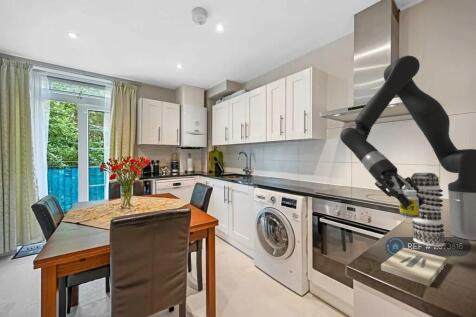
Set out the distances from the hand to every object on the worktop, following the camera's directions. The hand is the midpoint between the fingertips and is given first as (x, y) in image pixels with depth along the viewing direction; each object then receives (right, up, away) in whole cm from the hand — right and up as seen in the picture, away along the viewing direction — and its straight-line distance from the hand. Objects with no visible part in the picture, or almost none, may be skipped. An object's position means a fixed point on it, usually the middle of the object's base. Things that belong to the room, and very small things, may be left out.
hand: (415, 204), depth 65 cm
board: (-5, -16, -6) cm, 18 cm away
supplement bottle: (0, -4, +2) cm, 5 cm away
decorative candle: (+14, -16, +11) cm, 24 cm away
